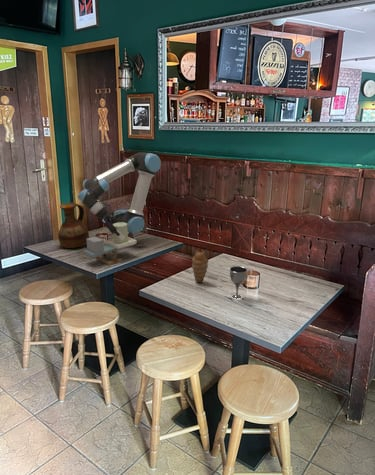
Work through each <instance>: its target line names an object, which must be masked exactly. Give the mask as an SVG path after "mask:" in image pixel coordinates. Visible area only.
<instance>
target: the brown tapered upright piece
mask: <svg viewBox="0 0 375 475" xmlns="http://www.w3.org/2000/svg"><path fill="white" fill-rule="evenodd" d="M194 253H195V254H194V256H193V257H192V259H191V263H192V265H191V268H192V272H193V278H194V281H195V282H196V283H198V284H201V283H202V282H204V280H205V277H206V273H207V270H208V267H209V266H208V263H209V259H208V258H207V257H206V251H203V252H202V251H198V250H195V252H194Z"/></svg>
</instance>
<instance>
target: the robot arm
mask: <svg viewBox="0 0 375 475" xmlns="http://www.w3.org/2000/svg"><path fill="white" fill-rule="evenodd" d="M161 166H162V162H161V159H160V157H159V156H158V155H157V154H154V153H151V152H145V151H144V152H138V153H136V154H134V155H131V156H129V157H127V158H126V159H125V161H123V162H121V163H119V164H117V165H115V166H113V167H111V168H110V169H108V170H106V171H104V172H102V173H100V174H98V175H96V176H94V177H92V178H89V179H88V178H86V179H84V180H83V182H82V188H83V190H81V192H79V193H78V195H77V199H78V200H79V201H80V202H81V204H83V205H84V206H85V207H86V208H87V209H88V210H89V211H90V212H91V213H92V214H93V215H95V217H97V219H98V220H101V219H102V220H101V223H102V224H103V225H104V226H105V227H106V228H107V229H108V230H109V232H110V233H111V234H112V235H113V234H114V233H115V234H116V235H117V236H118V237H119V238H120V239H121V240H123V239H124V238H125V237H124V236H123V235H122V234H121V233H120V232H119V231H118V230H116V228H115V227H114V225H113V224H114V223H119V222H124V223H127V230H128V237H129V238H132V239H134V240H135V237H134V234H138V233H140V232H142V230H143V229H144V228H145V225H146V224H145V219H144V216H145V215H144V212H143V211H144V207H145V204H146V199H147V196H148V192H149V190H150V186H151V183H152V182H151V181H152V179H153V178H154V177H155V175H156V173H157V172H158V171H159V170H160V168H161ZM135 171H137V173H138V177H137V182H136V184H135V190H134V192H133V196H132V201H131V204H130V207H129V209H128V208H127V209H125V208H124V209H118V210H115V211H113V214H112V213H109V210H108V209H107V208H106V207H104V205H103V204H102V203H101V202H100V201H99V200H98V199H99V198H101V196H102V195H104V194H105V193H106V192H107V191H108V190H109V188H110V185H109V183H111V182H113V181H115V180H117V179H119V178H121V177H122V176H124V175H126V174H128V173H130V172H133V173H134V172H135ZM108 213H109V214H108ZM112 238H114V236H113V237H112Z"/></svg>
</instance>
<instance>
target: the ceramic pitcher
mask: <svg viewBox="0 0 375 475" xmlns="http://www.w3.org/2000/svg"><path fill="white" fill-rule="evenodd" d="M76 207H77V208H78V217H76V216H75V213H74V212H75V211H74V210H75V208H76ZM59 208H60V209H61V210H62V211H63V214H64V215H63V216H64V217H65V219H64V221H63V223H62V224H61V226H60V227H59V230H58V233H57V234H58V242H59V244H60V246H61V247H63V248H66V249H71V248H72V249H74V248H78V247H79V248H80V247H81V246H84V245H87V240H86V239H87V238H90V234H89V231H88V228H87V227H86V226H85V224H84V223H83V219H84V215H85V210H84V207H83V206H82V205H81V204H79V203H76V202H66V203H62V204H60V205H59Z"/></svg>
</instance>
